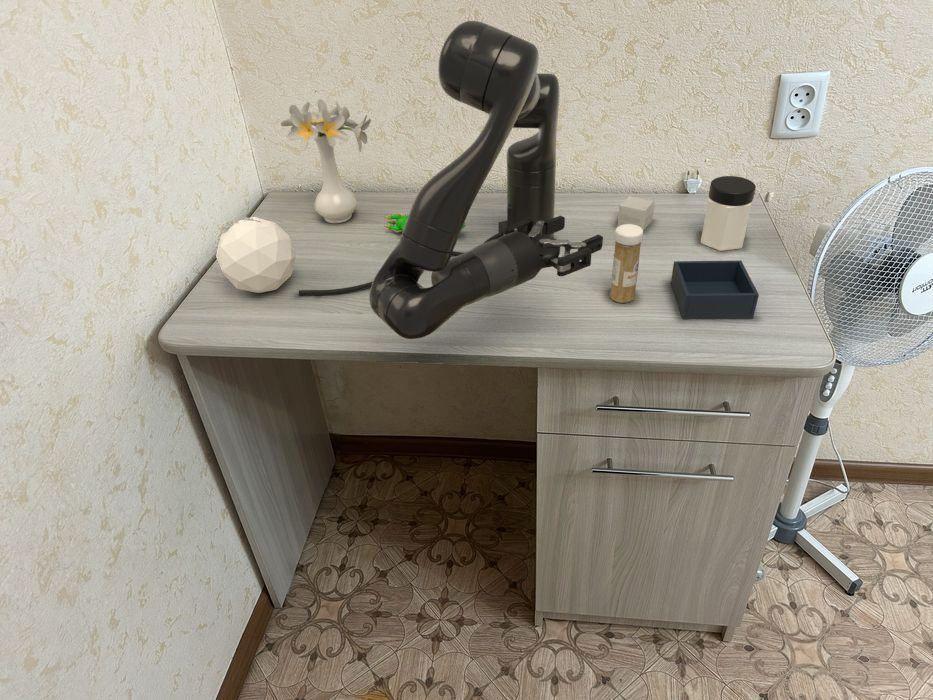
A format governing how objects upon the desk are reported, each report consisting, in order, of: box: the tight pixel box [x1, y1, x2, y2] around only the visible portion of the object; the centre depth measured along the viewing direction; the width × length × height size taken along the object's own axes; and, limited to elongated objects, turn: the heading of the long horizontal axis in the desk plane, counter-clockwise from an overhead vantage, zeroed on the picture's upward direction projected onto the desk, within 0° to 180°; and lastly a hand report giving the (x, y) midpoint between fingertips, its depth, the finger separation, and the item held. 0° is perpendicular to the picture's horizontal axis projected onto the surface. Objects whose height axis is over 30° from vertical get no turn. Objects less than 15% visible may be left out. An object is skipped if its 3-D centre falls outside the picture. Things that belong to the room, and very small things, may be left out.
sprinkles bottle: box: [609, 224, 644, 304], centre depth 118 cm, size 5×5×13 cm
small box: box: [617, 195, 655, 231], centre depth 143 cm, size 6×6×5 cm
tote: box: [670, 259, 760, 320], centre depth 119 cm, size 12×11×5 cm
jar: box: [700, 175, 757, 252], centre depth 133 cm, size 9×8×12 cm
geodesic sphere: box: [215, 215, 297, 294], centre depth 127 cm, size 15×14×14 cm
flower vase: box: [280, 98, 372, 224], centre depth 146 cm, size 13×18×25 cm
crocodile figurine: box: [383, 212, 467, 233], centre depth 144 cm, size 7×18×4 cm, turn 74°
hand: (581, 231), depth 107 cm, fingers open, 8 cm apart
